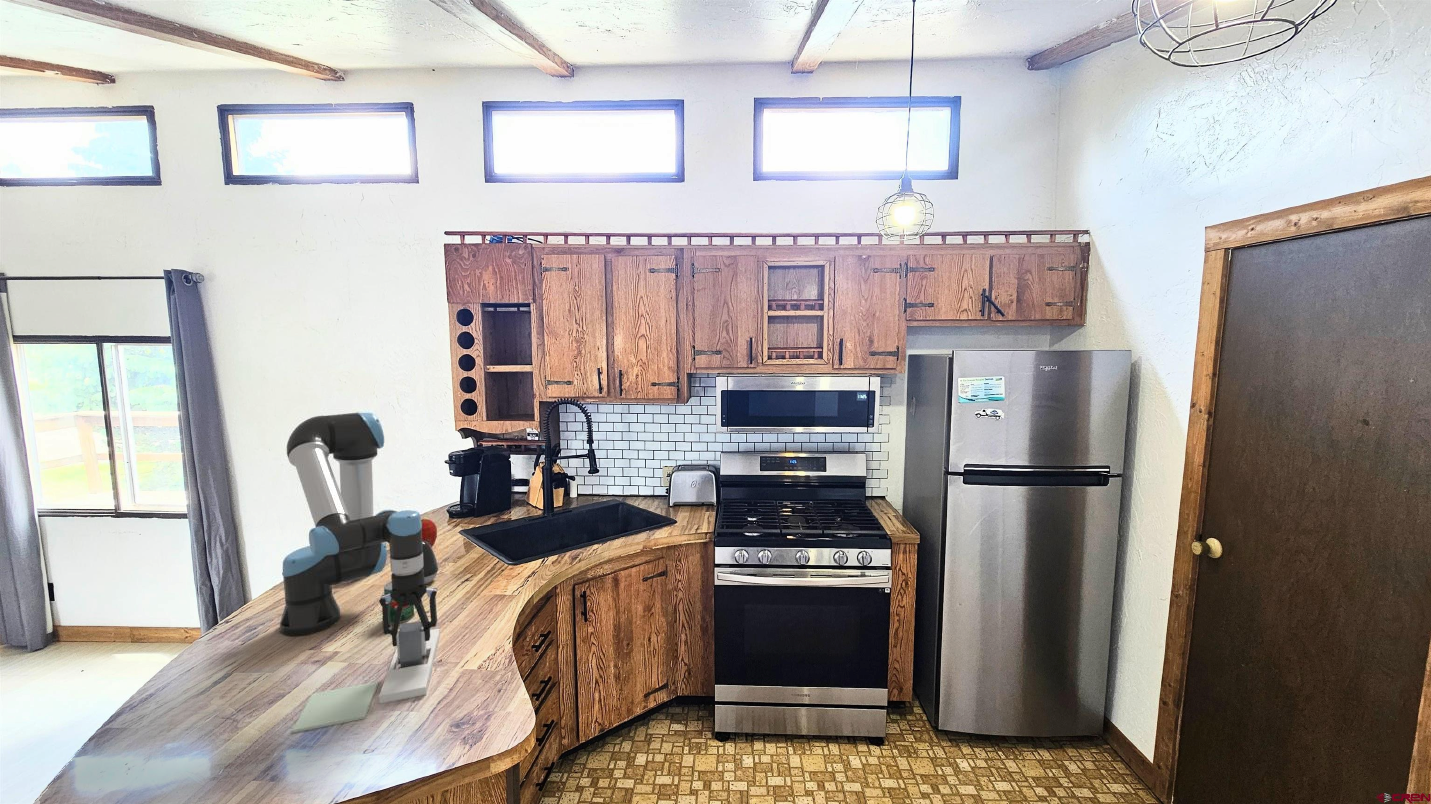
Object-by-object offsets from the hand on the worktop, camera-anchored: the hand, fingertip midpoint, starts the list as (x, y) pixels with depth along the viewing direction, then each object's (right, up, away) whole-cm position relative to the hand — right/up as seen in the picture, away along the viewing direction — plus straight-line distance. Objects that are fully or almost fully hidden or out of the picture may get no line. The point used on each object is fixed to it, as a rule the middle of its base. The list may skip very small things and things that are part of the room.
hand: (412, 654), depth 149 cm
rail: (0, -3, 0) cm, 3 cm away
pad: (-9, -5, -17) cm, 19 cm away
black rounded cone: (-25, +2, +53) cm, 58 cm away
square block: (0, -3, 0) cm, 3 cm away
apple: (-41, +5, +84) cm, 93 cm away
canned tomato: (-18, -1, +27) cm, 32 cm away
